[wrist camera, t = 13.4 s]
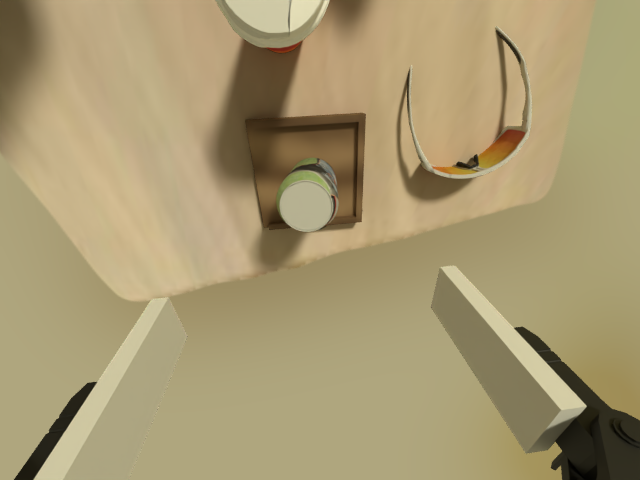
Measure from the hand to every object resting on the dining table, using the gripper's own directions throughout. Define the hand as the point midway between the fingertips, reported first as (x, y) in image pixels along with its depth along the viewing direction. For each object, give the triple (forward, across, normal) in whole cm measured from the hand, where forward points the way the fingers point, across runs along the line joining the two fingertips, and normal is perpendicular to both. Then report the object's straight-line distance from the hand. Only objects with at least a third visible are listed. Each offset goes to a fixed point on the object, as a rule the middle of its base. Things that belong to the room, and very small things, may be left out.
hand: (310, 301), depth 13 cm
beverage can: (+24, +1, -1) cm, 24 cm away
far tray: (+25, +2, -1) cm, 25 cm away
